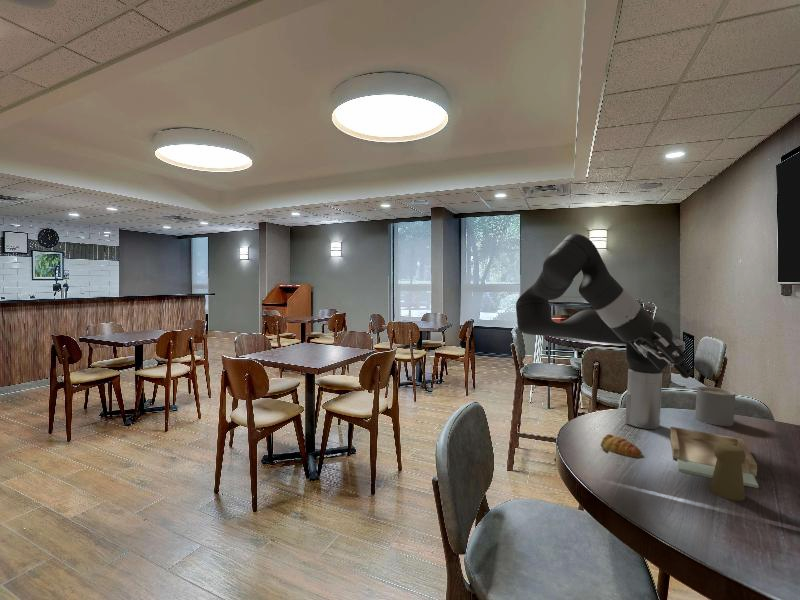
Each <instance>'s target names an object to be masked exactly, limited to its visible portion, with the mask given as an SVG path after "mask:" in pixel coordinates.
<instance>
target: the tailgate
mask: <svg viewBox="0 0 800 600" xmlns="http://www.w3.org/2000/svg"><path fill="white" fill-rule="evenodd" d="M676 462H677V463H676V464H677V470H678V472H681V473H686V474H691V475H696V476H700V477H704V478H709V479H712V478H713V473H714V469H715V466H710V465H705V464H700V463H695V462H690V461H685V460H680V459H677V460H676ZM742 474H743V483H744V487H745V486H747V487H751V488H755V489H759V484H758V481H757V479H756V477H755V476H753V474H749V473H744V472H742Z"/></svg>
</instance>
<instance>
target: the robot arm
mask: <svg viewBox="0 0 800 600" xmlns="http://www.w3.org/2000/svg"><path fill="white" fill-rule="evenodd" d="M580 272H581V273H582V275H583V276H582V280H581V282H580V284H579V286H578V293H579V295H580V296H581V297H582V298H583V300H585V301H586V302H587V303H588V305H590V307H592V309H582V310H581V311H578V312H576V313H574V314H573V315H572V316H570V317H568V318H566V319H565V320H563V321H554V320H553V318H552V312H551V311H552V310H551V304H550V301H553V300H556V299H559V298H560V297H562V296H564V294H565V293H566V291H567V290H568V289H569V288H570V286H571V285H572V284H573V281H574V279H575V278H576V276H577V275H579V273H580ZM515 311H516V320H517V322H516V323H517V328H518V330H519V331H520V332H521V333H522V334H526V335H530V336H531V335H532V336H545V337H560V338H568V339H576V340H582V341H586V342H587V341H588V342H594V343H603V344H617V345H619V344H620V345H621V344H623V345H625V357H626V361H627V364H628V365H627V366H628V367H627V368H628V370H627V371H628V372H627V390H626V391H627V392H626V401H625V402H626V404H625V422H624V423H625V424H626V425H630V426H633V427H635V428H636V427H637V428H640V429H645V430H655V429H656V430H657V429H659V428H661V427H660V424H661V407H662V406H661V405H662V388H663V387H662V386H663V372H664V371H663V370H664V369H665V367H667V366H668V364H669V365H671V367H672V368H673V369H674V370H676V372H677V373H678V374H679V375H680V376H681V377H682V378H684V379H689V378H690V376H693V374H694V370H693V368H691V366H690V365H689V364H688V363H687V362H686V361H685V359H686V358H687V357H688V356H687V354H686V353H684V352H683V350H682V349H681V348H680V347H678V345H677V344H676V343H675V342H674V341H673V339H674V337H673V336H674V335H673V331H672V329H671V328H670V326H668V325H667V324H666V323H665V322H662V321H659V320H656V319H655V318H653V316H651V314H650V313H649V312H648V311H647V310H646V309H645V308H644V307H643V305H641V303H640V302H639V301H637V300H636V298H635V297H634V296H633V295H631V293H629V292H628V291H627V290H625V289H624V288H623V287H622V285H620V283H618V281H617V280H616V279H615V278H614V277H613V276H612V275H611V273H610V272H609V270H608V268H607V266H606V264H605V262H604V260H603V259H602V257H601V254H600V252H599V250H598V249H597V247H596V245H595V244H594V243H593V241H591V240H590V239H589V238H588V237H586V236H585V235H582V234H579V233H572V234H568V235H567V236H566V237H565V238H564V239H563V240H562V241H561V242H559V243H558V245H557V246H556V247H555V248H554V249H553V250H552V251H551V252H550V253H549V254H548V255H547V257H546V258H545V259H544V261H543V264H542V271H541V272H540V274H539V276H538V278H537V279H536V281H535V282H534V283H533V284H531V286H530V287H528V288H527V289H526V291H524V292H523V293H522V294H521V295H520V296H519V297H518V298H517V300H516V302H515ZM654 319H655V320H654ZM673 355H674V356H673Z"/></svg>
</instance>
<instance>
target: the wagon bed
mask: <svg viewBox="0 0 800 600" xmlns="http://www.w3.org/2000/svg"><path fill="white" fill-rule="evenodd" d="M669 438H670V446H671V453H672V460H673V461H677V459H680V460H685V461H690V462H695V463H700V464H705V465H710V466H715V465H716V461H717V458H716V456H715V454H714V448H715V446H716V445H717V444H720V443H726V444H731V445H735V446H738V447H740V448H741V449H743V451H744V452H745V455H746V458H745V462H744V463H743V464H742V472H744V473H749V474H753V476H754V478H756V477H757V474H758V473H757V472H758V464H757V461H756V459H754V457H753V455H752V453H751V452H750V450H749V449H748V447H747V445H746V442H744V439H743V438H739V437H733V436H727V435H721V434H715V433H711V432H704V431H699V430H698V431H697V430H693V429H692V430H691V429H687V428H686V429H685V428H680V427H675V426H670V435H669Z"/></svg>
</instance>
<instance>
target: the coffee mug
mask: <svg viewBox="0 0 800 600" xmlns="http://www.w3.org/2000/svg"><path fill="white" fill-rule="evenodd" d="M695 399H696V400H695V411H694V412H695V413H694V414H695V415H694V418H695V419H696V420H697V419H698V420H697V421H699V420H700V421H699V422H701V421H702V423H704V422H706V423H705V424H708V423H709V424H708V425H712V424H714V425H713V426H717V425H719V426H718V427H732V426H734V421H735V407H736V406H735V404H736V393H735V391H732V390H730V389H726V388H720V387H713V386H697V387H696V396H695Z"/></svg>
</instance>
